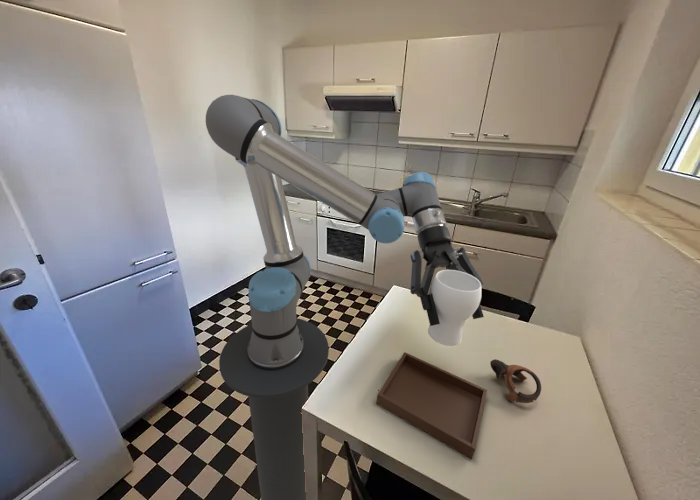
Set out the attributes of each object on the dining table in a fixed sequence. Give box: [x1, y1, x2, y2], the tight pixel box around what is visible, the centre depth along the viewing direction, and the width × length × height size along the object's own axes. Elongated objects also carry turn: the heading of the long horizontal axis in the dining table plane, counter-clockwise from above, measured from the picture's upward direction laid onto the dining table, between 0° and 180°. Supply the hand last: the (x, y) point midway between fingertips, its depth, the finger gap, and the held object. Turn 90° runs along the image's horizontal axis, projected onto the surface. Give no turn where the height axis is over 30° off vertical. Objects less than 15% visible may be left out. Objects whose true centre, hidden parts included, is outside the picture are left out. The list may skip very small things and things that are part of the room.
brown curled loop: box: [490, 358, 542, 404], centre depth 71 cm, size 12×10×8 cm
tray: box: [375, 351, 488, 460], centre depth 67 cm, size 22×17×3 cm
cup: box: [427, 269, 483, 347], centre depth 63 cm, size 11×11×15 cm
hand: (457, 321), depth 61 cm, fingers closed on cup, 11 cm apart
